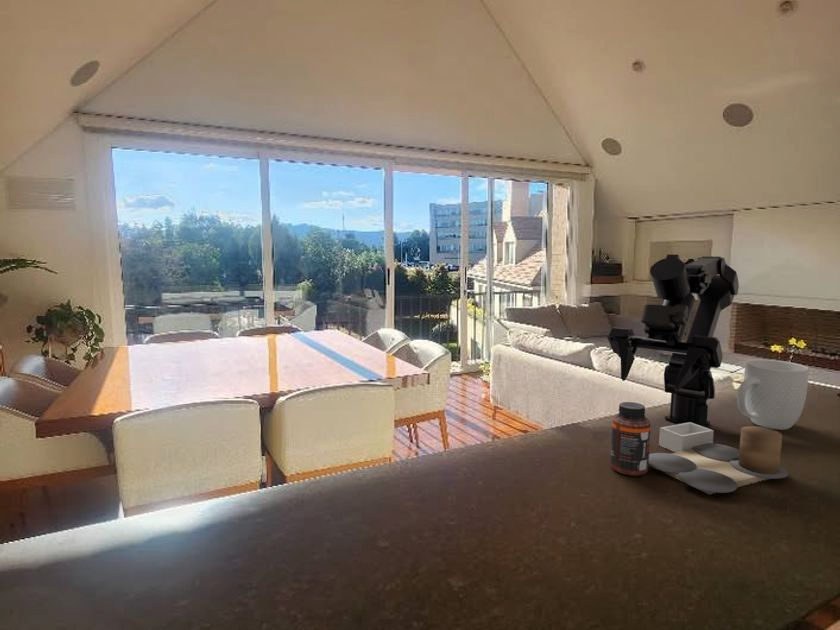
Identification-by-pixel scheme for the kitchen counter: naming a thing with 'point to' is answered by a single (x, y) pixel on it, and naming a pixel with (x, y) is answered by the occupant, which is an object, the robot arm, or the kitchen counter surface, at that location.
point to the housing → (684, 436)
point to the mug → (773, 392)
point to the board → (726, 462)
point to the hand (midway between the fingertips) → (648, 384)
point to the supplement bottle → (630, 440)
